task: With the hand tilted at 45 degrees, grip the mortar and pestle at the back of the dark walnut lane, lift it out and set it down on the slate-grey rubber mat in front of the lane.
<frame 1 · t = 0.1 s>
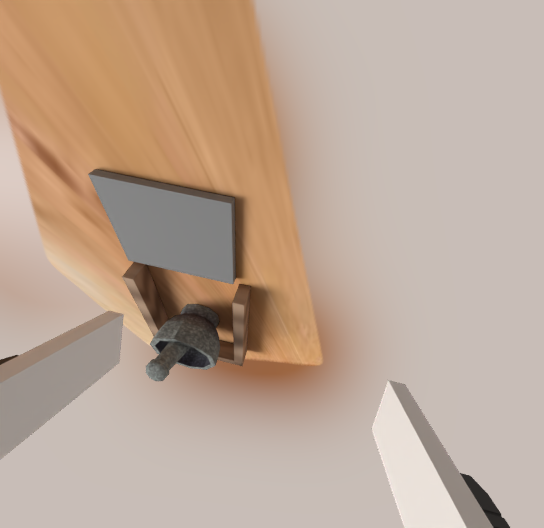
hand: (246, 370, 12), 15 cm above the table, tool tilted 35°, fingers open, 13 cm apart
mortar and pestle: (201, 311, 41), resting in walnut lane
walnut lane: (200, 312, 41), on the table
slate mat: (175, 231, 29), on the table
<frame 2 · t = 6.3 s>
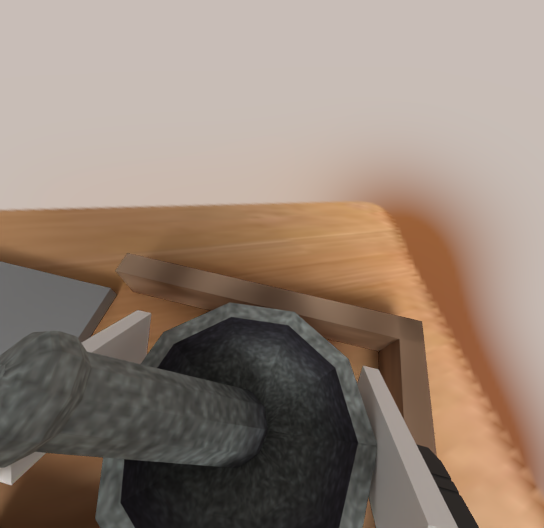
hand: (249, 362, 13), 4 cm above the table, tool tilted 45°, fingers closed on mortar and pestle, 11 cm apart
mortar and pestle: (234, 425, 15), resting in walnut lane, touching gripper
walnut lane: (235, 426, 15), on the table
when the fingers open (6 cm above the table, at t = 12.6 s): mortar and pestle moves 2 cm, resting on slate mat.
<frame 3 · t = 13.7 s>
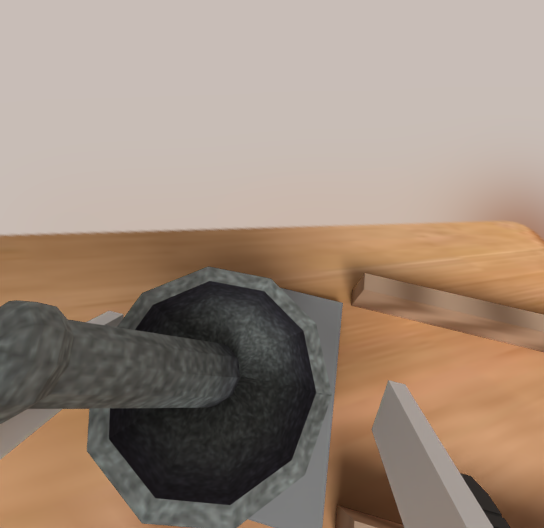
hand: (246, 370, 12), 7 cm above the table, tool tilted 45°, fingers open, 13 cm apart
mortar and pestle: (209, 370, 17), point 2 cm above the table, touching gripper, slate mat
walnut lane: (488, 424, 18), on the table
slate mat: (248, 375, 18), on the table
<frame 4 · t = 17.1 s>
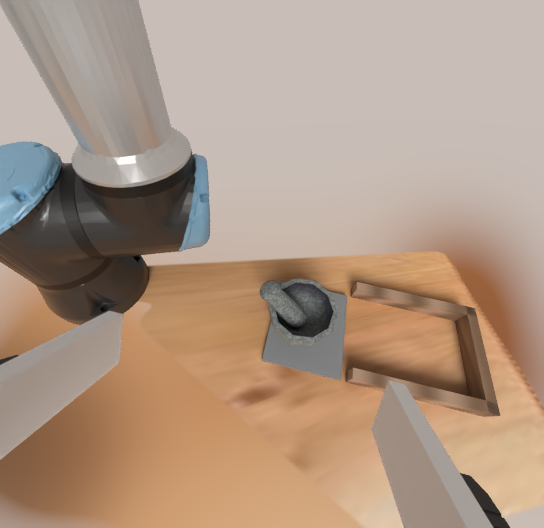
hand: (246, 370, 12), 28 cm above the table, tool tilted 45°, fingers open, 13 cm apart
mortar and pestle: (292, 325, 42), point 1 cm above the table, touching slate mat
walnut lane: (409, 345, 42), on the table
slate mat: (306, 326, 42), on the table
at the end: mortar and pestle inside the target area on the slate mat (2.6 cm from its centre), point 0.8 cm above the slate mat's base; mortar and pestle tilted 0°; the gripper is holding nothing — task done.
